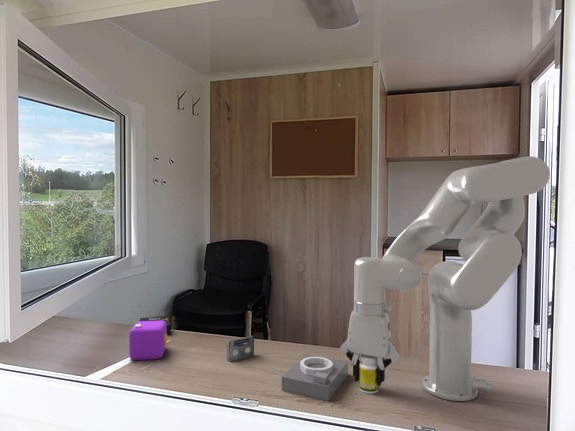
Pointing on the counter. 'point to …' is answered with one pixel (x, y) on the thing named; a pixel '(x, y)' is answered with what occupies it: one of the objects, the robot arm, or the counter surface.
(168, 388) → the counter surface
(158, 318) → the battery charger
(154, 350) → the toy camera
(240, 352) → the mini dv tape
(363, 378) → the supplement bottle
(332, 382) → the grey ring holder base
